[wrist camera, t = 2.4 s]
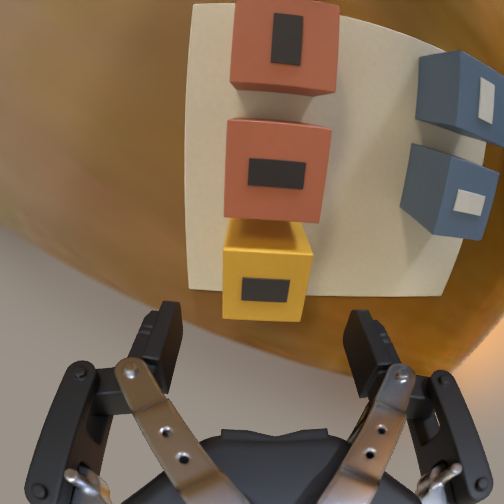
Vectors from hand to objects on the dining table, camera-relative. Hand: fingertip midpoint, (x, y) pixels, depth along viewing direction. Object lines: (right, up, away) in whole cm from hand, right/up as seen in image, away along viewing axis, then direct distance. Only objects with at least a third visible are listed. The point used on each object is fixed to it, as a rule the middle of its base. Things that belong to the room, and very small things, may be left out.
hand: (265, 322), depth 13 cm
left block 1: (+1, +14, 0) cm, 14 cm away
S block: (0, +3, +6) cm, 7 cm away
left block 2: (0, +9, +3) cm, 9 cm away
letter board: (+6, +9, +4) cm, 11 cm away
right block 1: (+12, +13, 0) cm, 18 cm away
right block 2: (+11, +8, +3) cm, 14 cm away
